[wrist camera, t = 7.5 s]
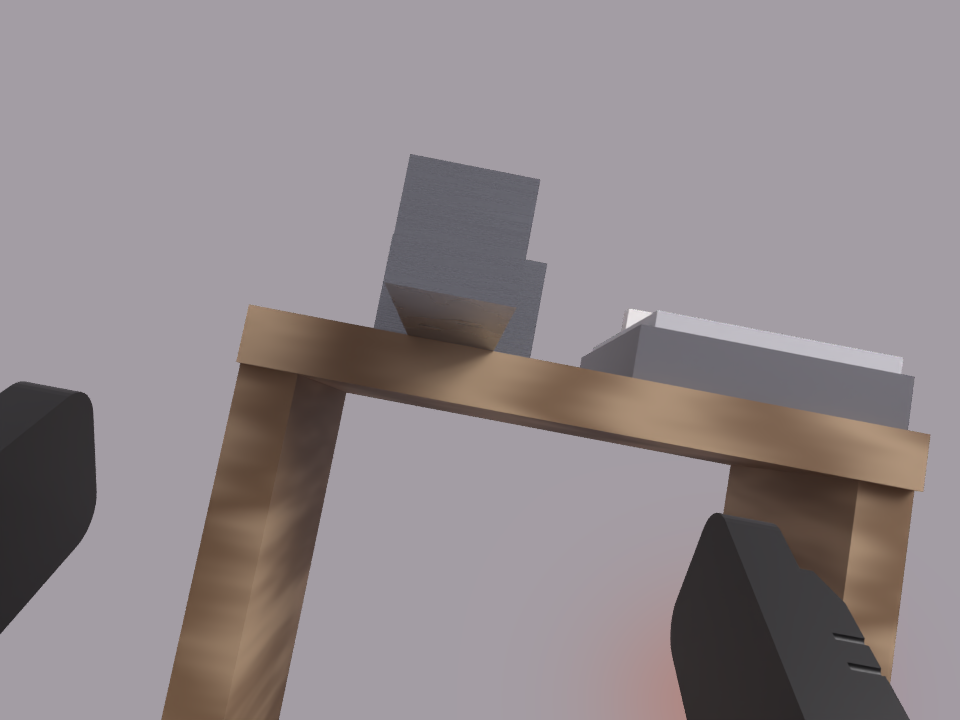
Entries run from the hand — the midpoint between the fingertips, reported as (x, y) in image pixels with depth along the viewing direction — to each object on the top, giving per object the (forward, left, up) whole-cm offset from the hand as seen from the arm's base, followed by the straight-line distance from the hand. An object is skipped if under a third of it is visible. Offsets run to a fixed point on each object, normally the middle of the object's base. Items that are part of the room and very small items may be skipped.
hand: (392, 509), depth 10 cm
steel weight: (0, -16, +4) cm, 17 cm away
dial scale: (-11, -22, +4) cm, 25 cm away
